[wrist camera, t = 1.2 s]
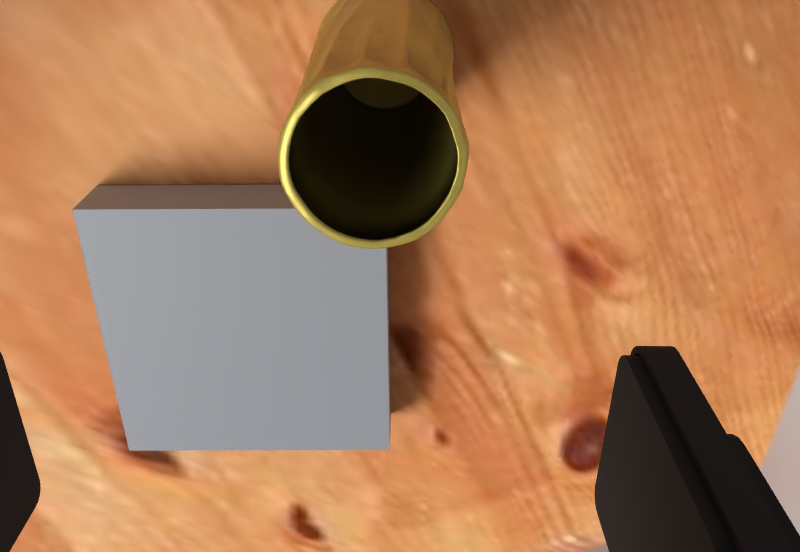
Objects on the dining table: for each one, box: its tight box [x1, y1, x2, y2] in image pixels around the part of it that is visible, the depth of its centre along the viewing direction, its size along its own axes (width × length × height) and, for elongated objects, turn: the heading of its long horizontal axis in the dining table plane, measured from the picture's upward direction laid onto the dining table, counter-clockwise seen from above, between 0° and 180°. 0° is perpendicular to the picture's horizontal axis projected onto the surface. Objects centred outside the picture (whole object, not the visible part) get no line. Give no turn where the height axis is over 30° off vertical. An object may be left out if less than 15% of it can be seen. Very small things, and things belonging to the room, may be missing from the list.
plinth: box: [73, 184, 391, 450], centre depth 37 cm, size 14×14×3 cm
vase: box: [278, 0, 469, 249], centre depth 26 cm, size 6×6×14 cm
